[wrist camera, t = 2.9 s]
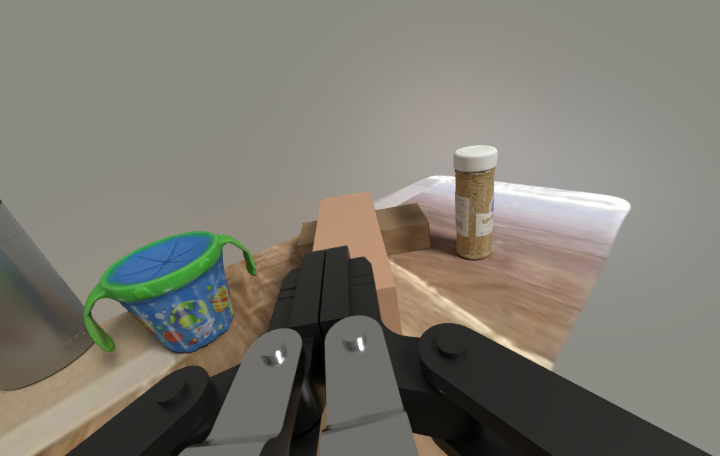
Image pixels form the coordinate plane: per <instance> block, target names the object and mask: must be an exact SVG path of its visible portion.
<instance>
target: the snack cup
mask: <svg viewBox="0 0 720 456" xmlns="http://www.w3.org/2000/svg"><path fill="white" fill-rule="evenodd" d="M226 243H232V244H234V245H235V246H237V247H238V248H240V249H242V250H243V255H244V258H245V261H246V267H247V270H248V272H249V273H250V274H251V275H253V276H255V275H256V267H255V263H254V260H253V258H252V256H251V254H250V253H249V251H248V250H247V248H246V247H245V246H244V245H243V244H241V243H240V242H239V241H238V240H236V239H234V238H232V237H229V236H226V235H215V234H213V233H211V232H206V231H196V232H195V231H194V232H187V233H182V234H178V235H174V236H170V237H167V238H164V239H161V240H157V241H155V242H152V243H150V244H147V245H145V246H143V247H141V248H139V249H137V250H135V251H133V252H131V253H129V254H128V255H126V256H124V257H123V258H121V259H119V260H118V261H117V262H115V263H114V264H113V265H111V266H110V267H109V268H108V269H107V270H106V271H105V272H104V274H103V275H102V277H101V279H100V283H99V284H97V285H96V286H95V287H94V288H93V290H92V291H91V292H90V294H89V296H88V298H87V300H86V303H85V307H84V322H85V325H86V328H87V331H88V333H89V335H90V336H91V338H92V339H93V341H94V342H95V343H96V344H97V345H98V346H99V347H101V348H102V349H104V350H105V351H108V352H111V351H113V350H114V349H115V344H114V341H113V340H112V338H111V337H110V336H109V335H108V334H107V333H106V332H105V331H104V330H103V329H102V328H100V327H99V326H98V325H97V324H96V322H95V321H94V320H93V319H92V315H91V310H92V308H93V306H94V304H95V302H96V301H97V300H99V299H101V298H111V299H113V300H116V301H119V302H120V303H121V305H122V306H123V307H125V308H126V309H127V310H128V311H129V312H130V313H131V314H132V315H133V316H134V317H135V318H136V319H137V320H138V321H139V322H140V323H141V324H142V325H143V326H144V327H145V328H146V329H147V330H148V331H149V332H150V333H151V334H152V335H153V336H155V337H156V338H157V339H158V340H159V341H160V343H161V344H162V345H163V346H165V347H166V348H168V349H169V350H172V351H174V352H185V351H186V352H193V351H196V350H197V349H198V348H200V347H202V346H205V345H207V344H209V343H210V342H212V341H213V340H215V339H216V338H217V337H218V336H219V335H220V334H222V333H224V332H225V331H227V330H228V329H229V325H230V322H231V321H232V319H233V315H234V306H233V302H232V298H231V294H230V290H229V287H228V283H227V279H226V275H225V271H224V266H223V254H222V247H223V246H224V245H225V244H226Z"/></svg>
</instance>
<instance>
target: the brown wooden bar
mask: <svg viewBox="0 0 720 456" xmlns="http://www.w3.org/2000/svg"><path fill="white" fill-rule="evenodd" d="M375 213H376V216H377V220H378V224H379V227H380V231H381V235H382V238H383V242H384V246H385V250H386V253H387V255H392V254H398V253H404V252H410V251H415V250H421V249H427V248H431V246H430V230H429V222H428V220H427V219H426V217H425V215H424V214H423V212H422V211H421V209H420V207H419V206H418V204H417V203H415V204H409V205H403V206H398V207H392V208H386V209H381V210H375ZM316 227H317V221H313V222H307V223H303V225H302V229H301V233H300V237H299V240H298V244H297V247H298V250H299V253H300V257H301V260H302V262H303V257H304V254H305V253H306V252H312V251H313V245H314V239H315V233H316Z"/></svg>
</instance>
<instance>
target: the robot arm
mask: <svg viewBox="0 0 720 456" xmlns="http://www.w3.org/2000/svg"><path fill="white" fill-rule="evenodd" d="M1 202H2V201H1V200H0V389H1V390H13V389H18V388H21V387H25V386H28V385H30V384H33V383H35V382H38V381H40V380H42V379H44V378H46V377H48V376H50V375H52V374H53V373H55V372H57V371H58V370H60V369H62V368H63V367H65V366H66V365H68V364H69V363H71V362H72V361H74V360H75V359H76V358H77V357H79V356H80V355H81V354H82V353H84V352H85V351H86V350H87V349H88V348H89V347H90V346H91V345H92V344H93V342H94V341H93V339H92V338H91V336H90V335H89V333H88V331H87V328H86V325H85V322H84V306H83V304H82V303H81V302H80V300H79V299H78V298H77V297H76V295H75V294H74V293H73V291H72V290H71V289H70V288H69V286H68V285H67V284H66V282H65V281H64V280H63V279H62V278H61V276H60V275H59V274H58V272H57V271H56V270H55V269H54V267H53V266H52V265H51V263H50V262H49V261H48V260H47V258H46V257H45V256H44V254H43V253H42V252H41V251H40V250H39V248H38V247H37V246H36V244H35V243H34V242H33V240H32V239H31V238H30V237H29V235H28V234H27V233H26V231H25V230H24V229H23V228H22V227H21V225H20V224H19V223H18V222H17V220H16V219H15V218H14V216H13V215H12V214H11V213H10V211H9V210H8V209H7V208H6V206H5V205H4V204H3V203H1ZM92 319H93V320H94V318H93V317H92ZM94 321H95V320H94ZM95 322H96V321H95ZM96 324H97V322H96ZM97 325H98V324H97ZM98 326H99V325H98ZM99 327H100V326H99ZM325 400H326V403H327V408H326V405H325ZM413 433H416V434H421V435H425V436H430V437H431V438H432V439H433V441H434V442H435V443H436V444H437V446H438V447H439V448H441V449H442V450H443V451H444V452H445V453H446V454H447V455H448V456H712V455H710V454H708V453H706V452H704V451H703V450H701V449H699V448H697V447H695V446H693V445H691V444H689V443H687V442H685V441H683V440H682V439H680V438H678V437H676V436H674V435H672V434H670V433H668V432H666V431H664V430H662V429H660V428H659V427H657V426H655V425H653V424H651V423H649V422H647V421H645V420H643V419H641V418H640V417H638V416H636V415H634V414H632V413H630V412H628V411H626V410H624V409H622V408H620V407H618V406H617V405H615V404H613V403H611V402H609V401H607V400H605V399H603V398H601V397H599V396H598V395H596V394H594V393H592V392H590V391H588V390H586V389H584V388H582V387H580V386H578V385H577V384H575V383H573V382H571V381H569V380H567V379H565V378H563V377H561V376H559V375H557V374H556V373H554V372H552V371H550V370H548V369H546V368H544V367H542V366H540V365H538V364H536V363H535V362H533V361H531V360H529V359H527V358H525V357H523V356H521V355H519V354H517V353H516V352H514V351H512V350H510V349H508V348H506V347H504V346H502V345H500V344H498V343H496V342H495V341H493V340H491V339H489V338H487V337H485V336H483V335H481V334H479V333H477V332H475V331H474V330H472V329H470V328H468V327H465V326H463V325H459V324H454V323H443V324H438V325H435V326H432V327H431V328H429V329H427V330H426V331H425V332H424V333H423V334H422V336H421V338H419V337H409V336H403V335H400V334H397V333H394V332H393V331H391V330H389V329H388V328H387V327H386V326H385V325H384V324H383V322H382V319H381V313H380V307H379V302H378V296H377V291H376V285H375V280H374V274H373V269H372V264H371V263H370V262H369V261H368V260H367V259H366V258H365V257H364V256H363V257H357V258H352V259H351V258H350V253H349V249H348V246H347V245H345V246H339V247H334V248H328V249H327V250H326V249H323V250H317V251H312V252H306V253H305V254H304V257H303V262H302V266H301V268H296V269H292V270H291V271H290V272H289V273H288V275H287V276H286V277H285V278H284V279H283V282H282V286H281V289H280V292H279V295H278V301H277V302H276V305H275V309H274V312H273V315H272V319H271V322H270V325H269V329H268V332H267V333H266V334H264V335H262V336H261V337H259V338H258V339H257V340H256V341H254V342H253V344H252V345H251V346H250V347H249V349H248V350H247V352H246V354H245V356H244V358H243V361H242V363H241V364H239V365H237V366H235V367H232V368H230V369H228V370H226V371H223V372H221V373H219V374H217V375H214V376H212V377H209V375H208V373H207V372H206V370H205V369H204V368H202V367H199V366H188V367H184V368H181V369H178V370H176V371H174V372H172V373H171V374H169V375H167V376H166V377H164V378H163V379H162V380H160V381H159V382H158V383H156V384H155V385H154V386H153V387H151V388H150V389H149V390H148V391H146V392H145V393H144V394H142V395H141V396H140V397H139V398H137V399H136V400H135V401H134V402H132V403H131V404H130V405H129V406H127V407H126V408H125V409H123V410H122V411H121V412H120V413H118V414H117V415H116V416H115V417H113V418H112V419H111V420H110V421H108V422H107V423H106V424H104V425H103V426H102V427H101V428H99V429H98V430H97V431H96V432H94V433H93V434H92V435H90V436H89V437H88V438H87V439H85V440H84V441H83V442H82V443H80V444H79V445H78V446H77V447H75V448H74V449H73V450H71V451H70V452H69V453H68V454H66V455H65V456H419V455H418V451H417V448H416V444H415V440H414V437H413Z"/></svg>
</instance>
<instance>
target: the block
mask: <svg viewBox="0 0 720 456" xmlns="http://www.w3.org/2000/svg"><path fill="white" fill-rule="evenodd" d="M345 245H347V246H348V249H349V253H350V258H351V259H352V258H357V257H363V256H364V257H365V258H366V259H367V260H368V261H369V262H370V263H371V264H372V269H373V274H374V280H375V285H376V291H377V296H378V302H379V307H380V313H381V319H382V322H383V324H384V325H385V326H386V327H387V328H388V329H389V330H391V331H393V332H394V333H397V334H400V335H402V330H401V323H400V316H399V308H398V301H397V294H396V286H395V283H394V279H393V275H392V272H391V268H390V264H389V261H388V257H387V253H386V250H385V246H384V242H383V238H382V235H381V231H380V227H379V224H378V220H377V216H376V213H375V209H374V205H373V202H372V198H371V195H370V191H366V192H360V193H355V194H350V195H344V196H338V197H332V198H327V199H321V203H320V209H319V215H318V221H317V227H316V233H315V239H314V245H313V251H317V250H323V249H326V250H327V249H328V248H334V247H339V246H345Z"/></svg>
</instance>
